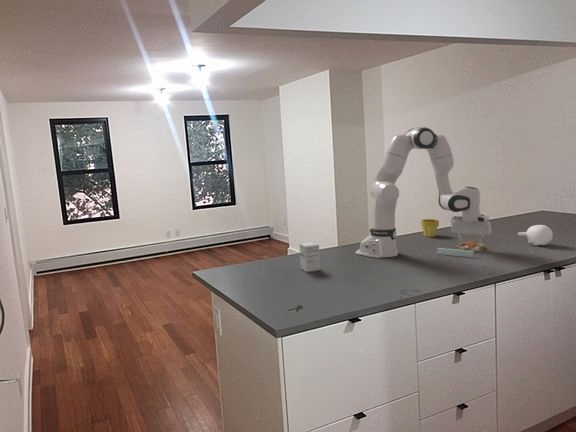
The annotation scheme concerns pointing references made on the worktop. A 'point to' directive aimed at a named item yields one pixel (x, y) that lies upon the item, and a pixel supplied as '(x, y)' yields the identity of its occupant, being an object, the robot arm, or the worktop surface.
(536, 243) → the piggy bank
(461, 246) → the birch tray
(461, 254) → the aqua wall
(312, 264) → the supplement box
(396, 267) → the worktop surface
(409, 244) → the worktop surface
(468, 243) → the coral ball
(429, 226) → the plant pot
